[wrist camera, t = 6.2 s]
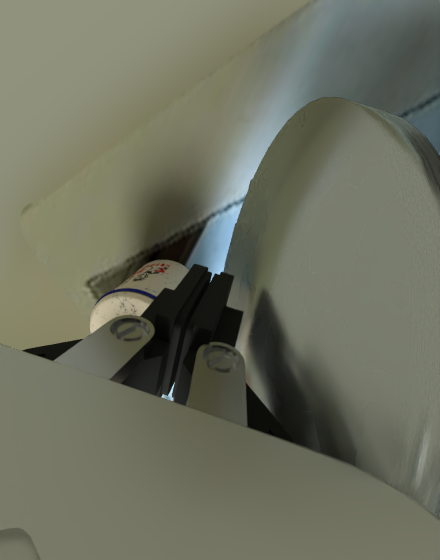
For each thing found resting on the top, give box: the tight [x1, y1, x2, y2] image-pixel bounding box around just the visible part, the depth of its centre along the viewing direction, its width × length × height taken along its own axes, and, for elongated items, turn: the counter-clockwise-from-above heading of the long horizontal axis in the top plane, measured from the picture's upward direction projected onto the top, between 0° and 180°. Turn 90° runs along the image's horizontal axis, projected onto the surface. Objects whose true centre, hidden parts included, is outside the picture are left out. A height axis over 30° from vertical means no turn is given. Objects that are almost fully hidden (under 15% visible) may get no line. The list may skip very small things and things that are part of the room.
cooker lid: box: [173, 97, 440, 519], centre depth 12 cm, size 16×15×3 cm
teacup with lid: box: [90, 260, 189, 333], centre depth 30 cm, size 12×9×12 cm
